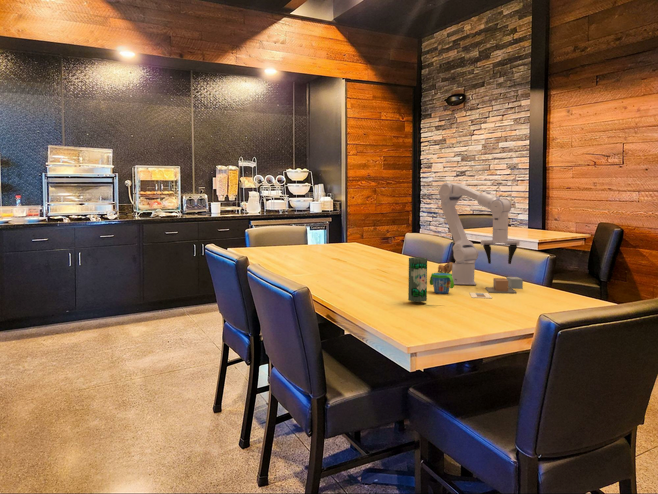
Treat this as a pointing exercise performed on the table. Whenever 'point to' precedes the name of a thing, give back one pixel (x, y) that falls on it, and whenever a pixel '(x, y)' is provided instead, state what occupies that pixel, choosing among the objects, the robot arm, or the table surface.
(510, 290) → the baseplate
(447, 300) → the table surface
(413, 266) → the can
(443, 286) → the snack cup
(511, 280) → the grey brick
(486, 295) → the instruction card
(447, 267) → the lion figurine
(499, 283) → the brown brick
